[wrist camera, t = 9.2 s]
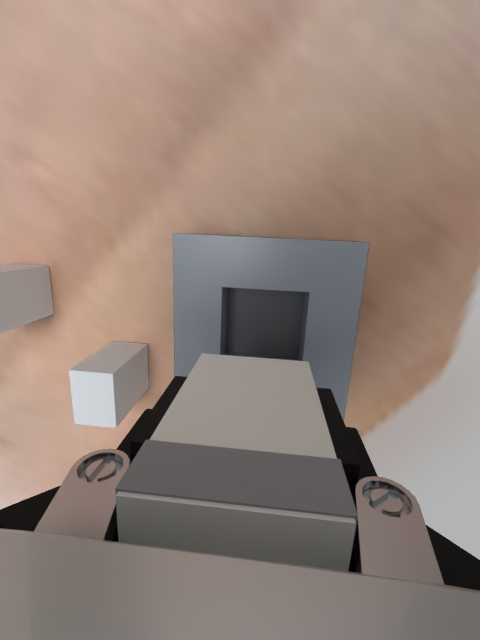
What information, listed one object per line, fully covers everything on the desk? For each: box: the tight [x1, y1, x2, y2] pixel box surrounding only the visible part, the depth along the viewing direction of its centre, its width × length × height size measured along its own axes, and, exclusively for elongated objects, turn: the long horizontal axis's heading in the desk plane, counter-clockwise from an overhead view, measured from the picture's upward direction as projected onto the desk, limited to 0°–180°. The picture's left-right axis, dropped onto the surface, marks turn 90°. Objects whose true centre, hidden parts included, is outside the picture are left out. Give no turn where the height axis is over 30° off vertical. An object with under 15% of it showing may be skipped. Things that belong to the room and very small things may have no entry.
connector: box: [115, 353, 358, 572], centre depth 9 cm, size 4×4×7 cm
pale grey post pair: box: [0, 264, 149, 428], centre depth 24 cm, size 11×10×6 cm
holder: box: [173, 233, 369, 420], centre depth 23 cm, size 12×12×4 cm
